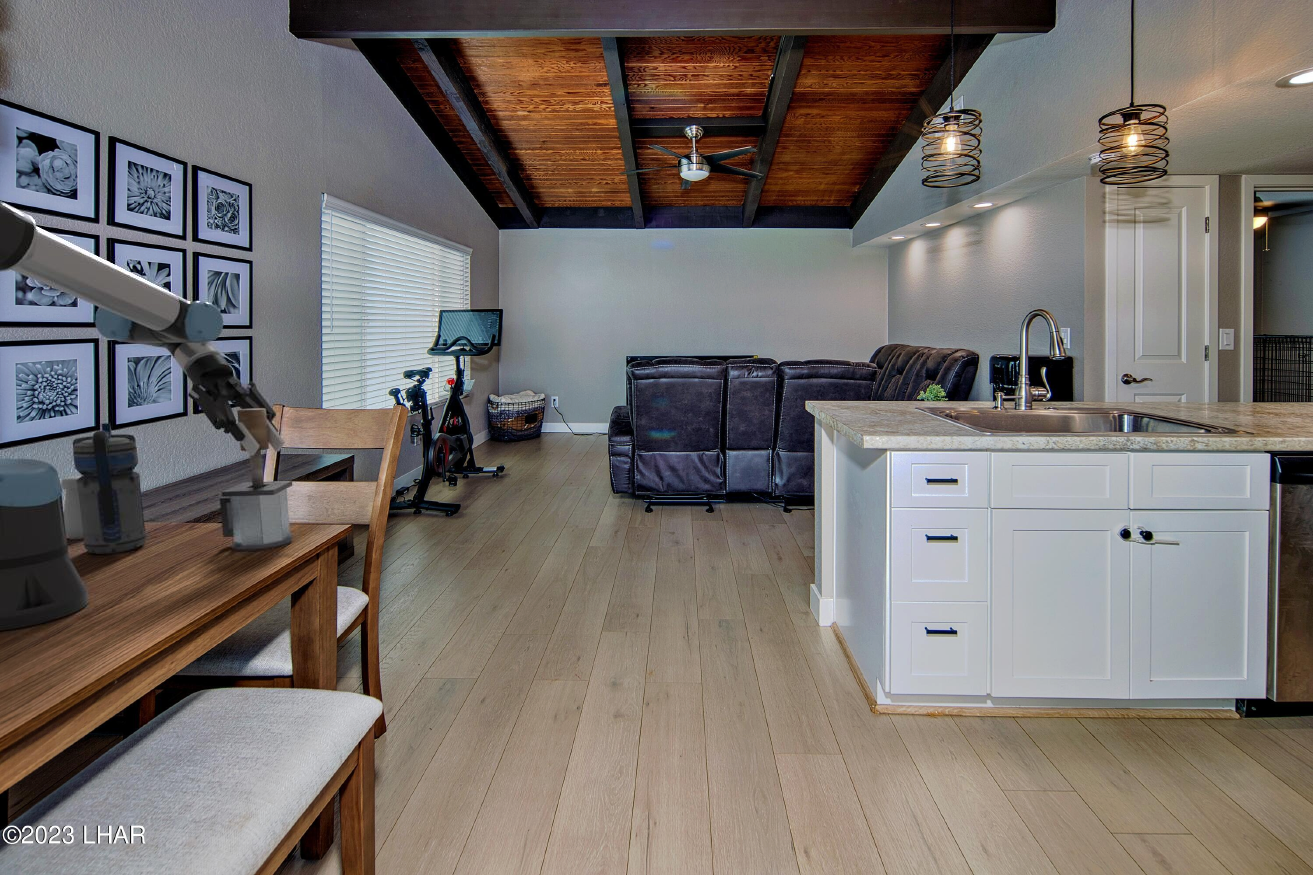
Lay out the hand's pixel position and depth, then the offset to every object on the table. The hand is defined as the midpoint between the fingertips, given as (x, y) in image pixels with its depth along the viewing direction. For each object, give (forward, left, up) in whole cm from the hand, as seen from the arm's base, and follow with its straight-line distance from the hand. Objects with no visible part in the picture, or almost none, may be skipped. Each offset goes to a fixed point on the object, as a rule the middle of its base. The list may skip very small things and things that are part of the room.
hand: (267, 448), depth 146 cm
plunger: (-3, +2, -8) cm, 9 cm away
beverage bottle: (-31, +2, -20) cm, 37 cm away
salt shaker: (-45, +14, -20) cm, 51 cm away
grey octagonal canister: (-3, +2, -20) cm, 20 cm away
